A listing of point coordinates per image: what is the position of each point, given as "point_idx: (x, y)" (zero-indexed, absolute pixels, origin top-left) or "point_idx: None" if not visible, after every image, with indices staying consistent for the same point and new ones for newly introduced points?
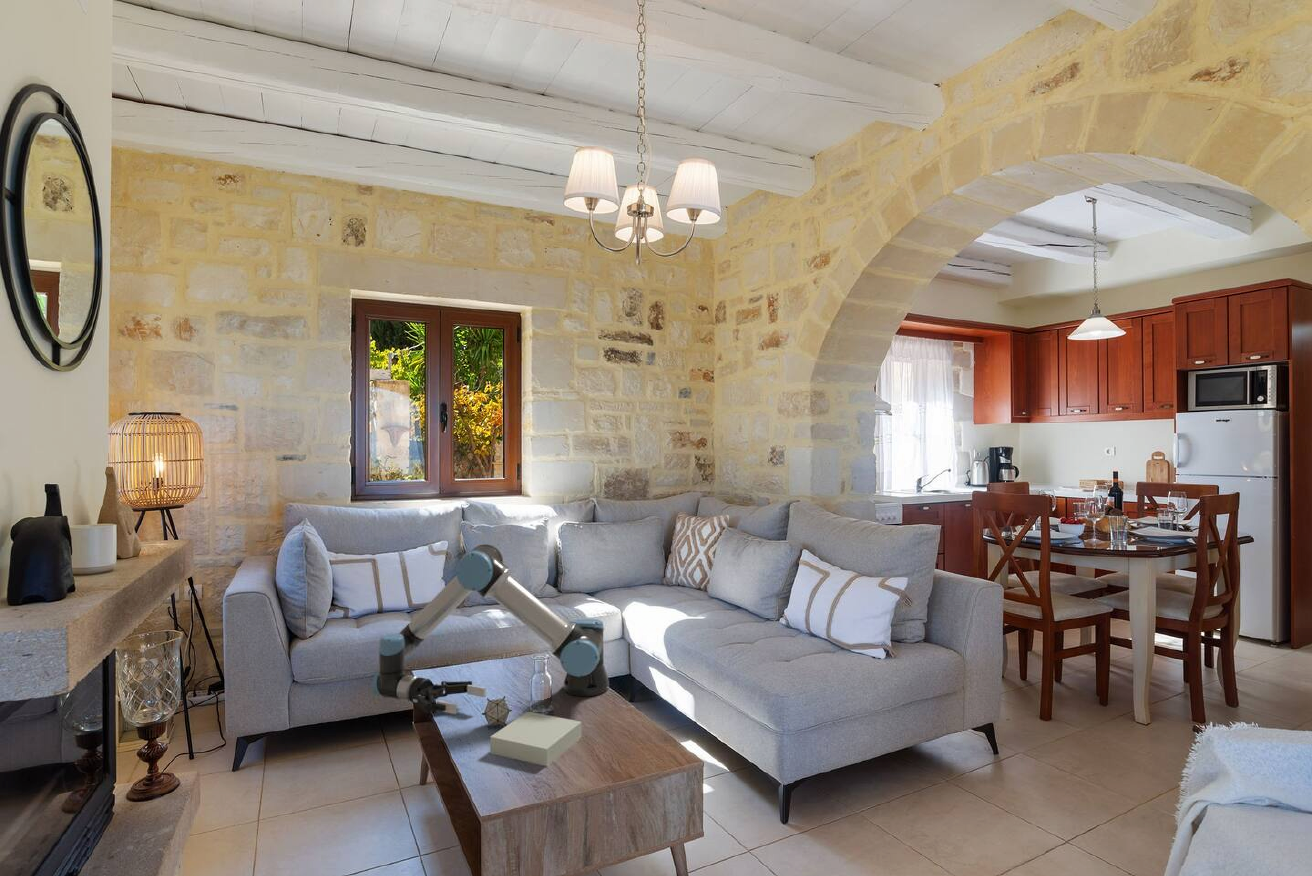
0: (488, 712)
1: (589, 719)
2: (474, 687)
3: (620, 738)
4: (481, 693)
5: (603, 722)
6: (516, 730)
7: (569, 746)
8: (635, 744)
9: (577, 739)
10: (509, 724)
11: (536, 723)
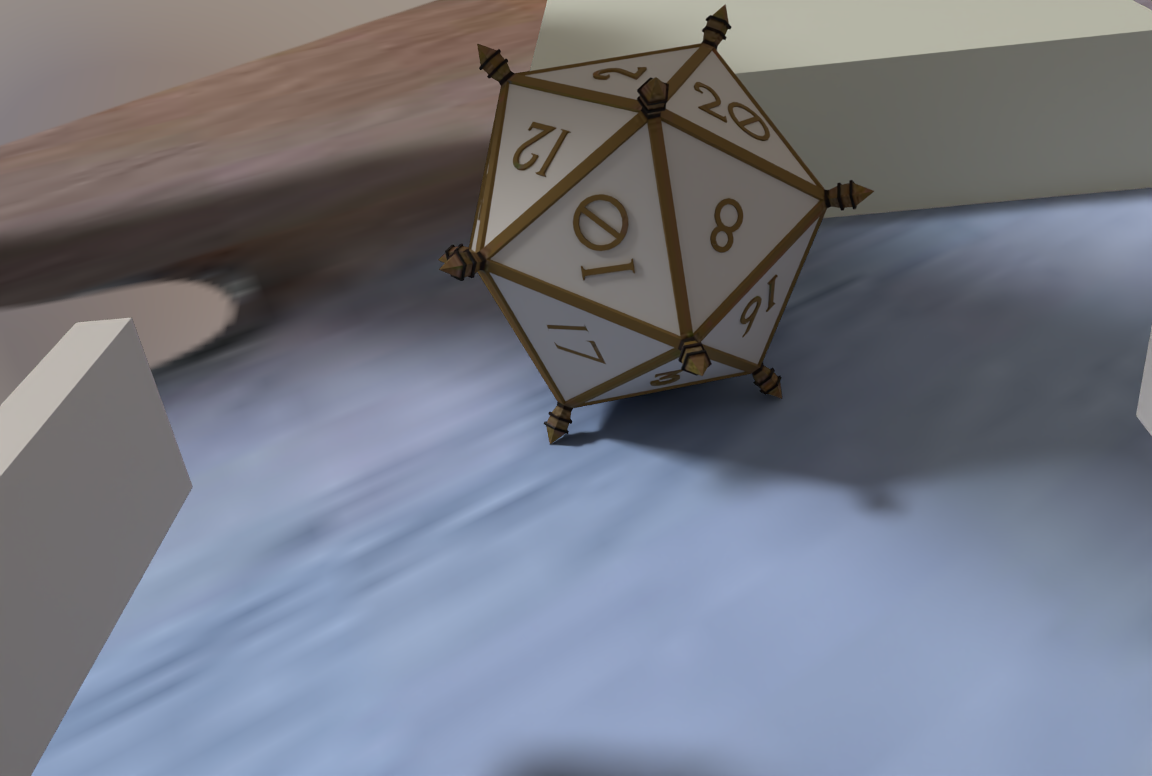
0: (799, 164)
1: (288, 136)
2: (2, 497)
3: (497, 36)
4: (142, 467)
5: (319, 102)
6: (919, 14)
7: None
8: (535, 10)
9: None
10: (866, 55)
11: None
